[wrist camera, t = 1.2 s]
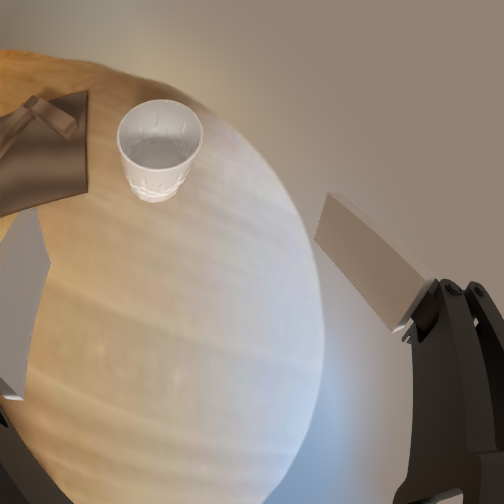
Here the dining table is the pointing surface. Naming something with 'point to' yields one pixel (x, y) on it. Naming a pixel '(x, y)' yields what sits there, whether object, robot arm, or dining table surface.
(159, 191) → the white cup
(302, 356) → the dining table surface
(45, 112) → the brown flat square slab
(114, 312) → the dining table surface
